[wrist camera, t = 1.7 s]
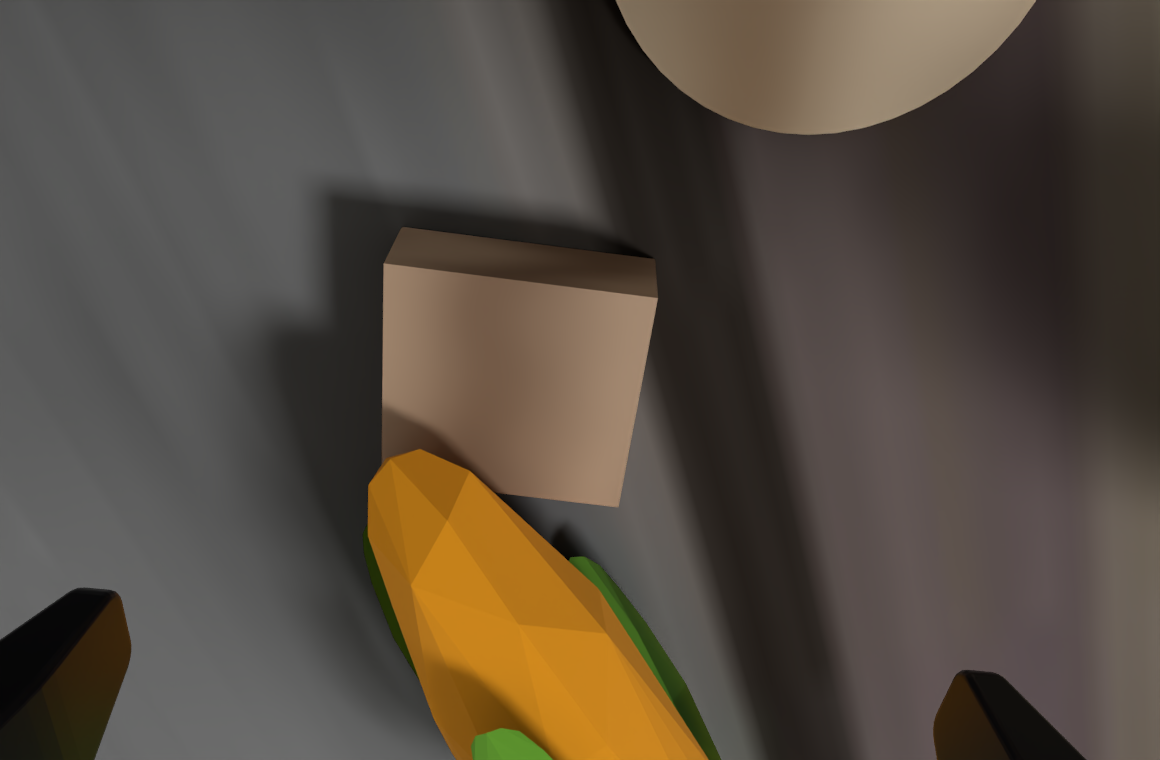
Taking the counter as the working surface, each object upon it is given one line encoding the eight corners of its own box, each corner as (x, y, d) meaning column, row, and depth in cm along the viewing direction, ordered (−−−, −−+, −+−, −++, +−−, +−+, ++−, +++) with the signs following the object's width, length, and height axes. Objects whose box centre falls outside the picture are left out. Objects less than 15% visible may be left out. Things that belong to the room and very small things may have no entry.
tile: (654, 259, 22) (657, 298, 20) (618, 459, 25) (618, 507, 24) (402, 226, 22) (383, 263, 20) (397, 432, 25) (381, 479, 23)
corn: (571, 1074, 28) (169, 645, 18) (567, 837, 35) (269, 429, 25) (808, 1019, 27) (509, 525, 17) (757, 783, 33) (520, 330, 24)
